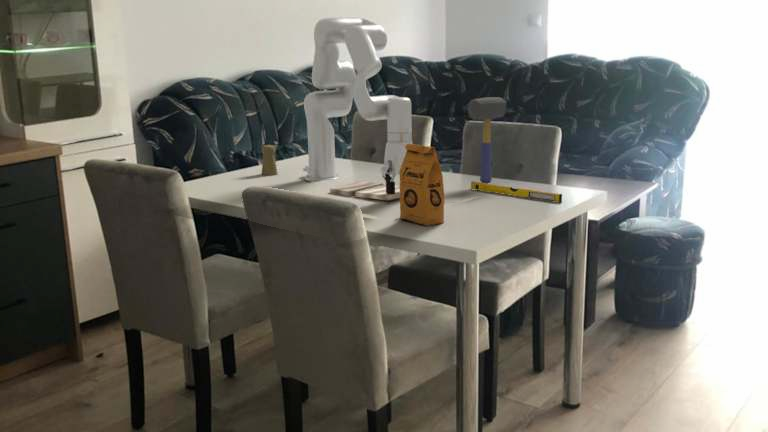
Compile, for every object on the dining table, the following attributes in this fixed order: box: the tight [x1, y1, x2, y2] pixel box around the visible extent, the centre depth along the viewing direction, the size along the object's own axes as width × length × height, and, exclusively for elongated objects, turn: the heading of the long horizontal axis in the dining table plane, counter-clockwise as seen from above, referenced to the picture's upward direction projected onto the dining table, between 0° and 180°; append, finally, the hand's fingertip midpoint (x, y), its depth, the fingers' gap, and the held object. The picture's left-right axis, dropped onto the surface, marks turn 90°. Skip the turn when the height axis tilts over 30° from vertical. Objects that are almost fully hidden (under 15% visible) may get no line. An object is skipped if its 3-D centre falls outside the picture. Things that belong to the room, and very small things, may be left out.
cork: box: [261, 144, 278, 177], centre depth 308 cm, size 6×6×11 cm
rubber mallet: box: [467, 96, 507, 184], centre depth 282 cm, size 12×8×30 cm, turn 122°
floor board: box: [329, 180, 400, 204], centre depth 268 cm, size 26×17×3 cm, turn 49°
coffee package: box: [399, 143, 445, 227], centre depth 232 cm, size 10×12×22 cm
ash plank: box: [355, 184, 400, 200], centre depth 264 cm, size 14×15×2 cm
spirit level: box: [470, 180, 563, 204], centre depth 267 cm, size 33×1×3 cm, turn 49°
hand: (400, 191), depth 260 cm, fingers open, 9 cm apart
